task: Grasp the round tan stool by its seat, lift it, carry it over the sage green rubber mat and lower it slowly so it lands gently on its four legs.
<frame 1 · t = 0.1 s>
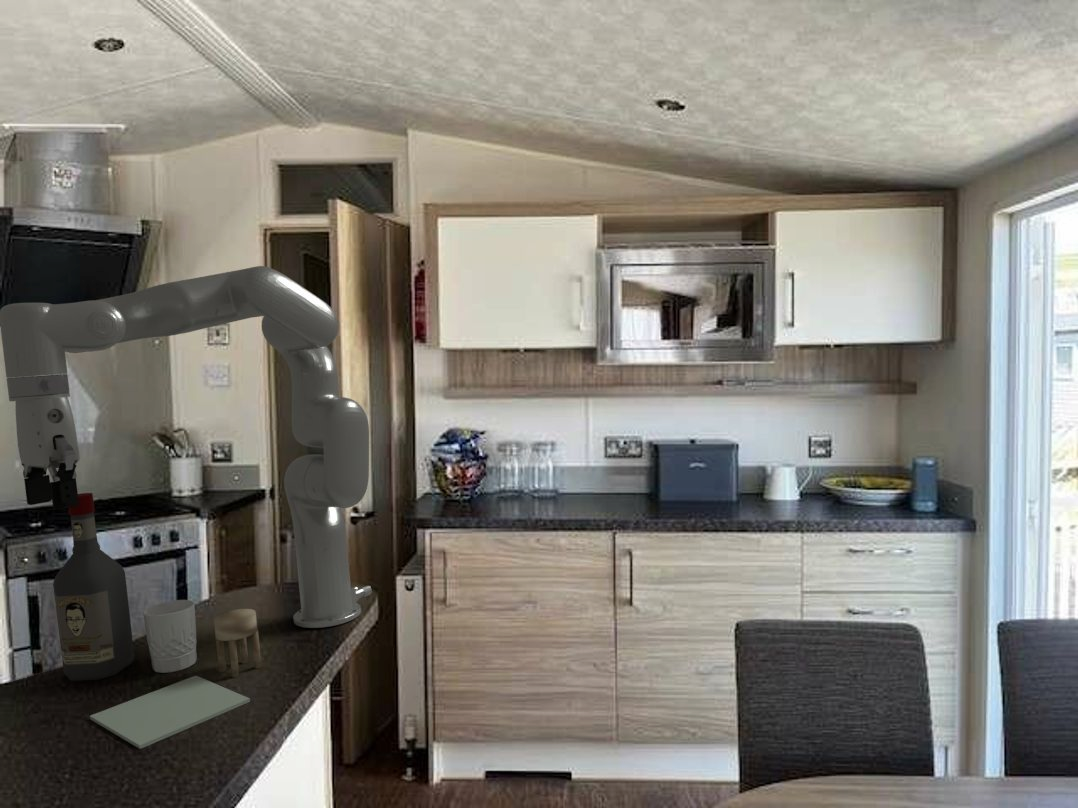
hand: (52, 505, 116), 31 cm above the countertop, fingers open, 9 cm apart
white cup: (175, 666, 134), on the countertop
round tan stool: (240, 668, 130), on the countertop
sage mat: (170, 710, 116), on the countertop
liquor: (100, 670, 134), on the countertop
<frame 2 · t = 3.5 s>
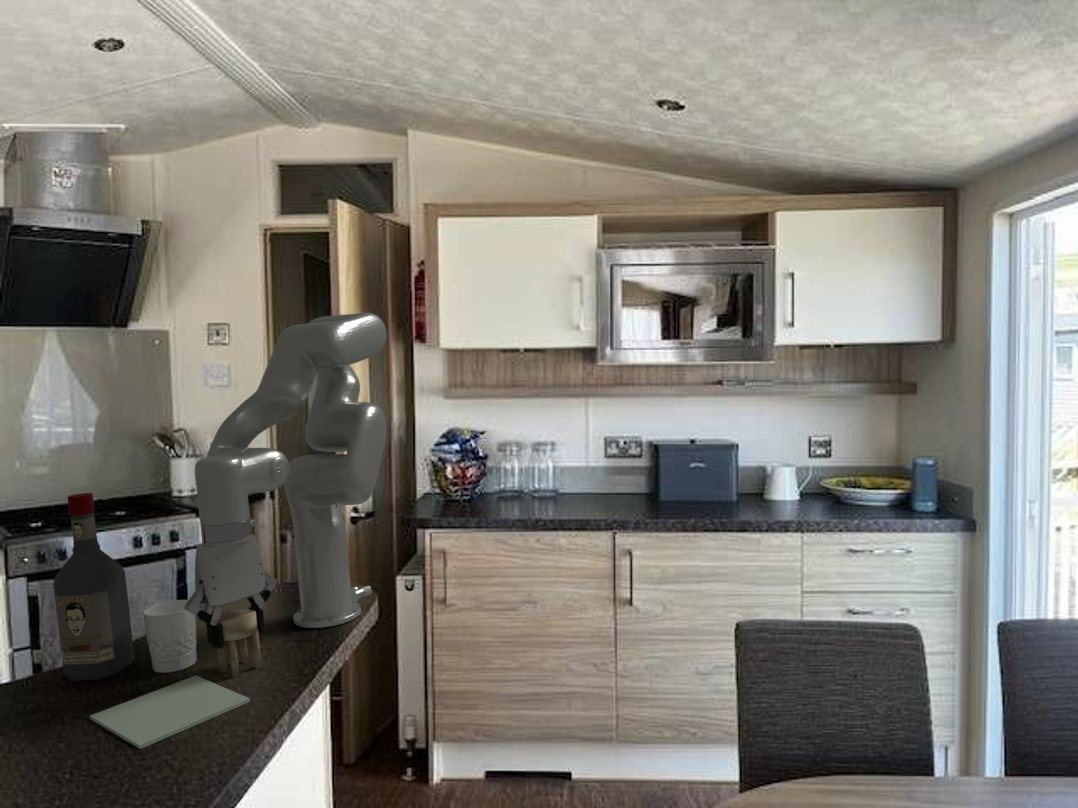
hand: (237, 638, 130), 5 cm above the countertop, fingers closed on round tan stool, 6 cm apart
round tan stool: (240, 668, 130), on the countertop, touching gripper
everything else where it was.
when the fingers open (7 cm above the countertop, at t = 9.8 s): round tan stool drops 1 cm, resting on sage mat.
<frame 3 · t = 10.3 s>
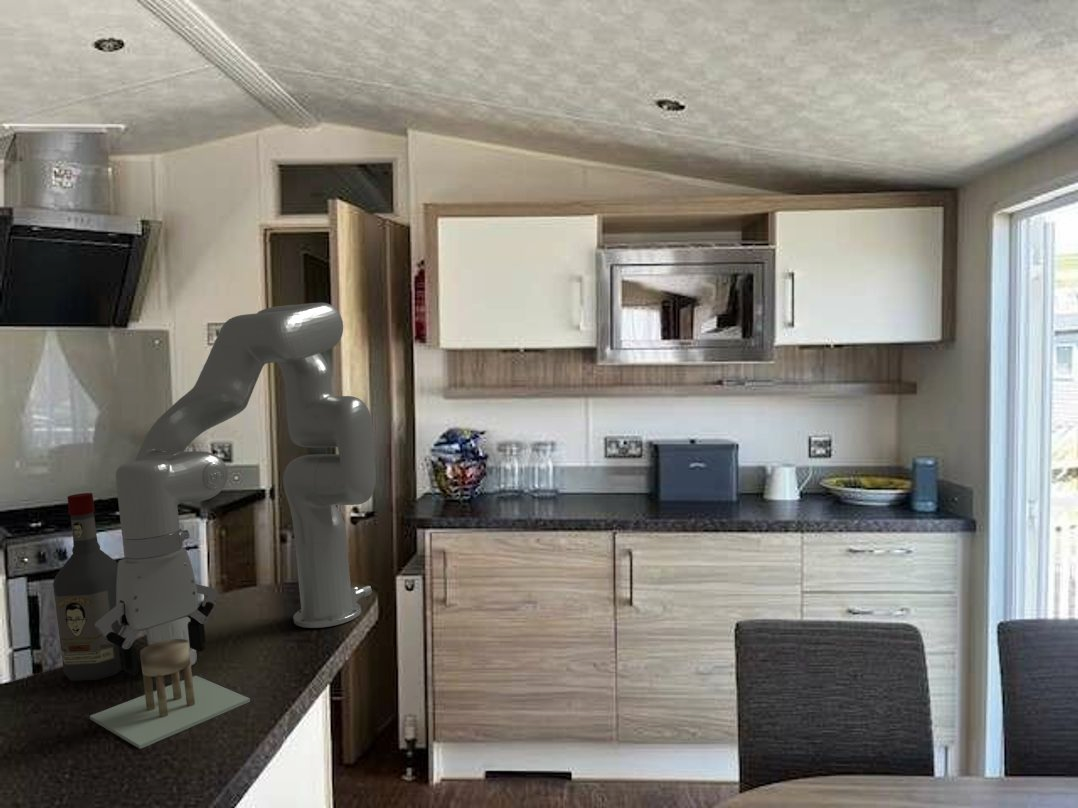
hand: (165, 660, 116), 8 cm above the countertop, fingers open, 9 cm apart
round tan stool: (170, 706, 116), resting on sage mat
everything else where it was.
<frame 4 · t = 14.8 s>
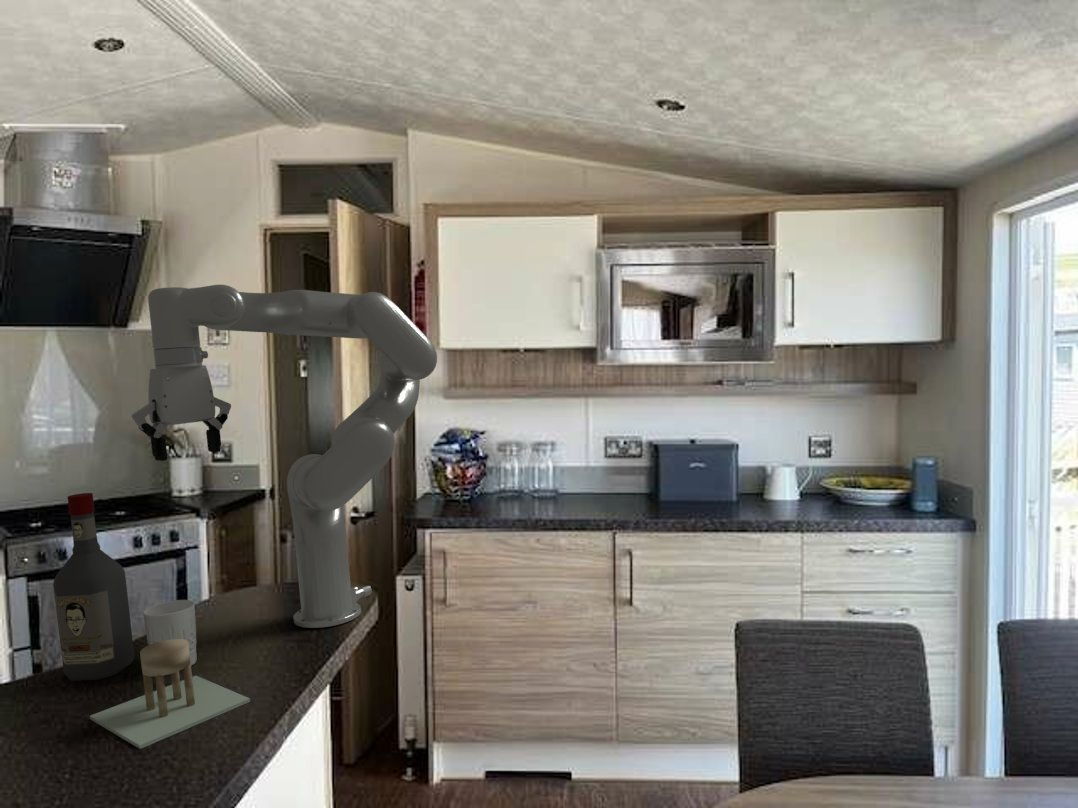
hand: (188, 455, 140), 34 cm above the countertop, fingers open, 9 cm apart
nothing on the countertop moved.
at the end: round tan stool inside the target area on the sage mat (0.1 cm from its centre), point 0.5 cm above the sage mat's base; round tan stool tilted 0°; the gripper is holding nothing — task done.
